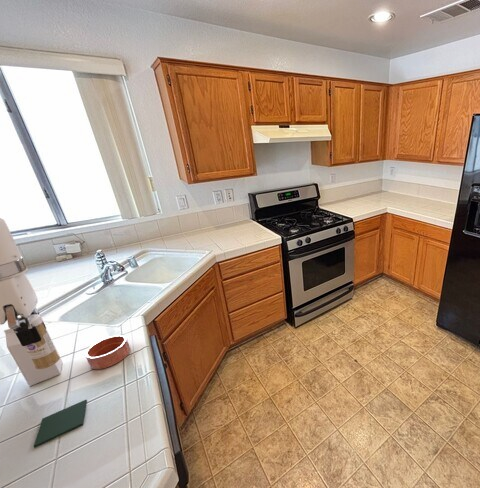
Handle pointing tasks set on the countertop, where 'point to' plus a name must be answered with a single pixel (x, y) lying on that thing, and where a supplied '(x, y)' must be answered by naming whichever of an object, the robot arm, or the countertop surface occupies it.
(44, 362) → the sprinkles bottle
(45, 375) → the milk carton
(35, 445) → the mat
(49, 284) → the countertop surface
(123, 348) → the bowl
